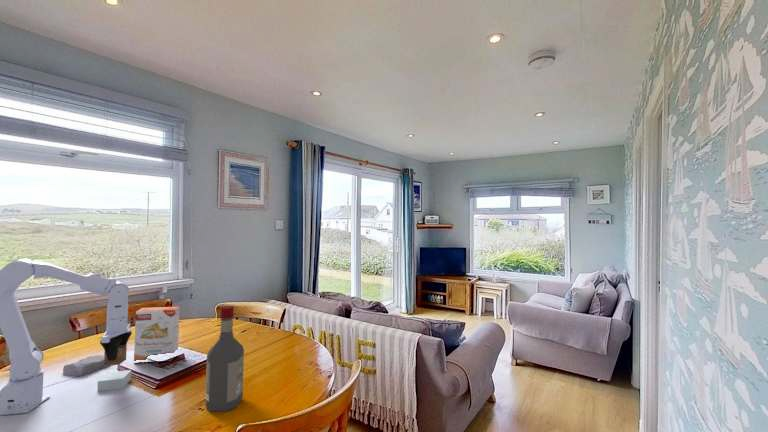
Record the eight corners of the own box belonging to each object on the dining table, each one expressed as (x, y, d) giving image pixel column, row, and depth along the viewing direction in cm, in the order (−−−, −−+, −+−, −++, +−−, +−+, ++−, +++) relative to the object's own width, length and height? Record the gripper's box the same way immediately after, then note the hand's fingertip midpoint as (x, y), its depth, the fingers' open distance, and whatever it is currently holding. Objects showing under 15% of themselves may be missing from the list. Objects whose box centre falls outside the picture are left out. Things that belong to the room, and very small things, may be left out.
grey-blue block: (122, 389, 114) (123, 378, 114) (97, 392, 112) (97, 381, 112) (130, 380, 121) (131, 370, 121) (107, 382, 119) (107, 372, 119)
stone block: (59, 379, 124) (81, 376, 122) (58, 366, 124) (80, 363, 122) (92, 367, 135) (113, 364, 134) (91, 355, 136) (112, 352, 134)
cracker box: (133, 364, 133) (135, 311, 133) (139, 358, 139) (141, 307, 139) (173, 361, 137) (175, 309, 137) (178, 355, 142) (179, 305, 143)
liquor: (244, 396, 110) (247, 303, 111) (233, 412, 101) (236, 311, 102) (216, 396, 110) (219, 303, 111) (202, 412, 101) (205, 310, 102)
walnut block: (119, 364, 115) (120, 349, 115) (104, 365, 114) (104, 350, 114) (126, 359, 119) (126, 345, 120) (111, 360, 118) (111, 345, 118)
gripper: (119, 322, 111) (118, 364, 111) (140, 311, 125) (139, 348, 125) (94, 323, 109) (92, 366, 109) (118, 312, 123) (116, 349, 123)
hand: (115, 357), depth 117 cm, fingers closed on walnut block, 4 cm apart
